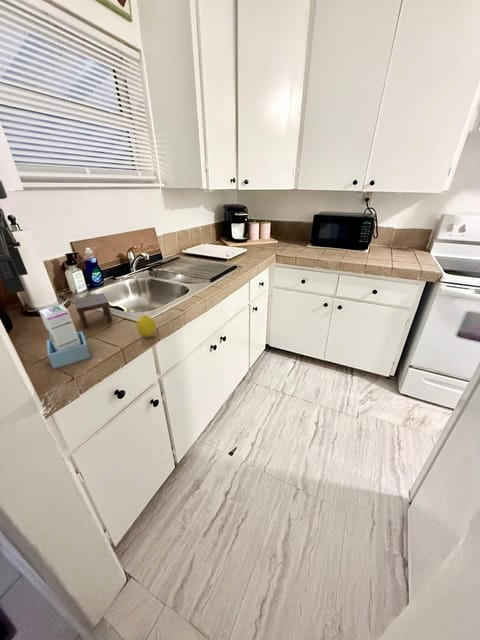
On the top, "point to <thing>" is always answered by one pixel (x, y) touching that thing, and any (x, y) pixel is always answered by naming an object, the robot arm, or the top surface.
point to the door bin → (68, 353)
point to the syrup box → (60, 327)
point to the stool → (92, 306)
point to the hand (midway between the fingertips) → (19, 282)
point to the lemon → (146, 326)
